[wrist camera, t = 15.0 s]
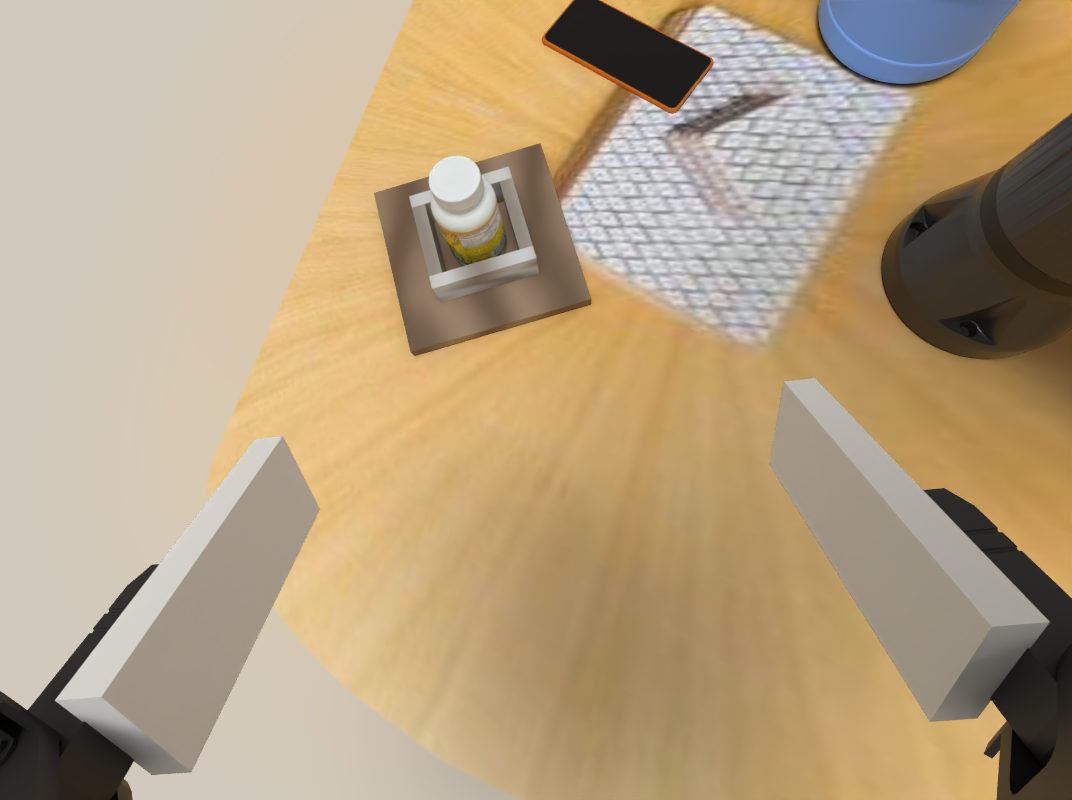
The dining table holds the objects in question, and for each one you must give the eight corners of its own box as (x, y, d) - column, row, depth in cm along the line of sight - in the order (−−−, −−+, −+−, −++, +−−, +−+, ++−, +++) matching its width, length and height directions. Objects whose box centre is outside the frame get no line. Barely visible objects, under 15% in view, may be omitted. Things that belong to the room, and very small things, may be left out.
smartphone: (673, 118, 49) (675, 111, 48) (539, 46, 52) (539, 38, 51) (715, 64, 50) (717, 56, 49) (581, -4, 53) (581, -12, 52)
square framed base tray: (541, 151, 49) (537, 119, 45) (590, 304, 45) (592, 284, 41) (378, 200, 49) (361, 173, 45) (414, 355, 46) (398, 341, 42)
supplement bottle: (513, 261, 46) (497, 199, 36) (457, 277, 46) (427, 219, 36) (499, 211, 47) (480, 139, 37) (445, 227, 47) (413, 158, 37)
